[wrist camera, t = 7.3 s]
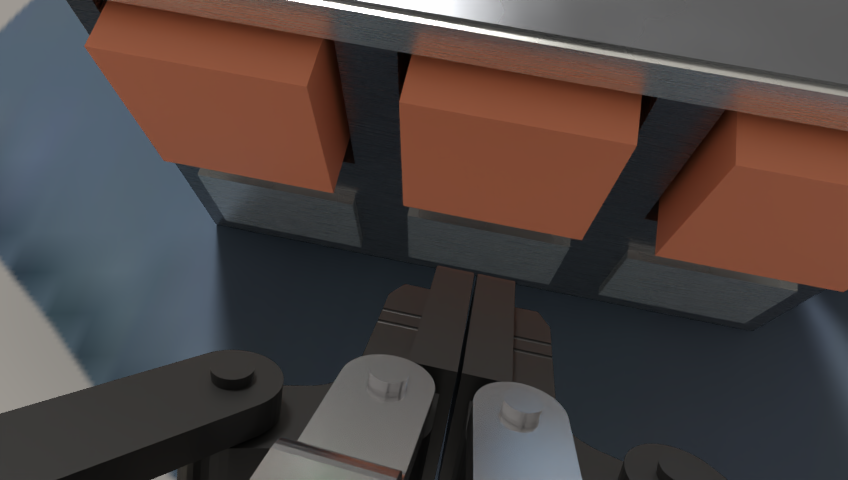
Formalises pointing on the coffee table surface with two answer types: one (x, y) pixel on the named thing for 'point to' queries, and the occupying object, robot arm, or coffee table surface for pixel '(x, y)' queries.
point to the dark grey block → (562, 60)
